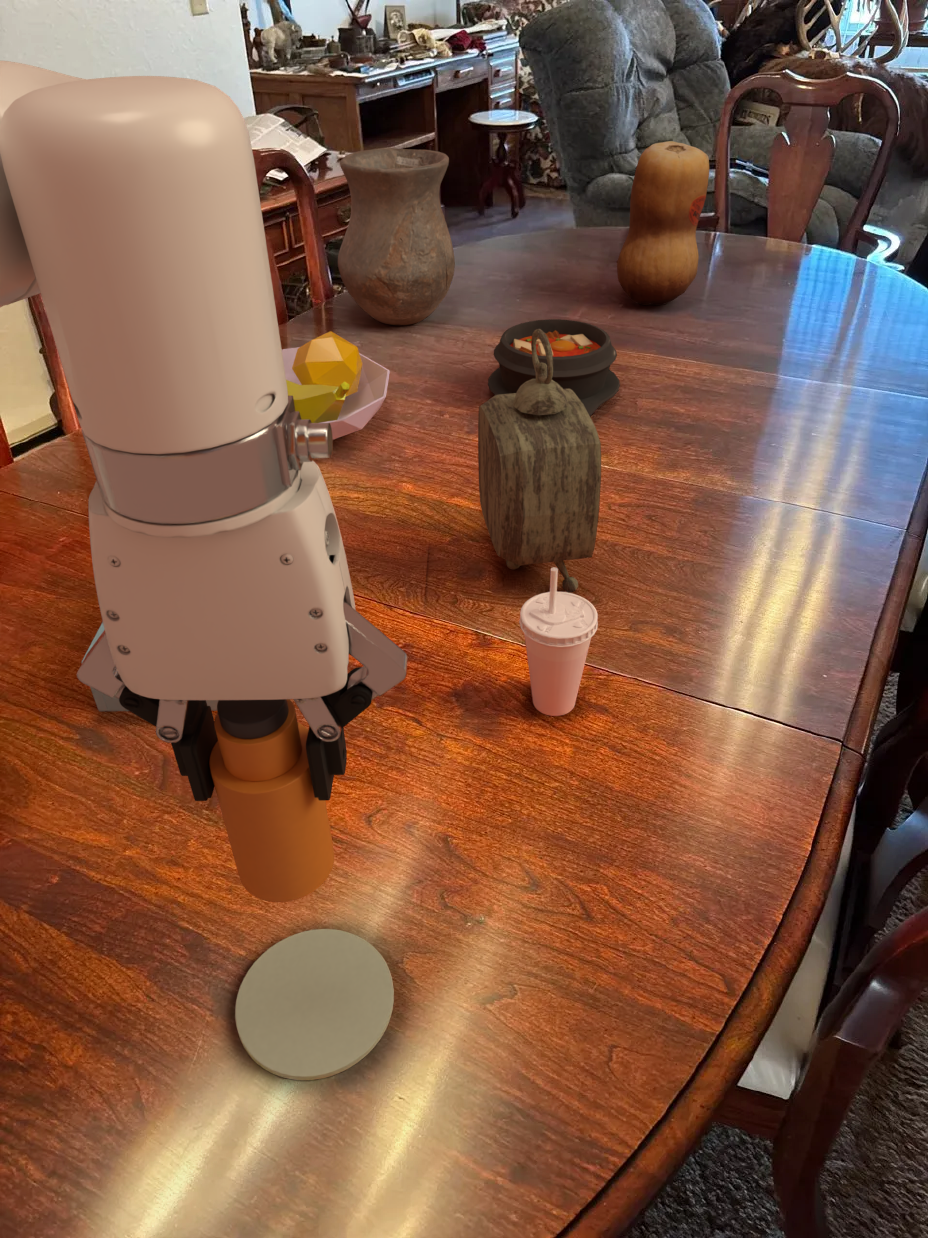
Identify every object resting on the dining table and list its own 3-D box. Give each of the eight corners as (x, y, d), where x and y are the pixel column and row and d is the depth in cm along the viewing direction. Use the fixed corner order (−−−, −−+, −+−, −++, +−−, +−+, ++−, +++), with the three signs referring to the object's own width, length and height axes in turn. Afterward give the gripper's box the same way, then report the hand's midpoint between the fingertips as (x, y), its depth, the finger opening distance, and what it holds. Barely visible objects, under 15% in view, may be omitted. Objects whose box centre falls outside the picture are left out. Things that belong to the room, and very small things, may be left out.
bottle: (229, 903, 48) (182, 740, 41) (248, 825, 52) (209, 664, 45) (328, 903, 48) (298, 739, 41) (339, 824, 52) (314, 663, 45)
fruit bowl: (186, 402, 131) (169, 324, 124) (371, 375, 138) (364, 299, 131) (205, 495, 110) (186, 407, 103) (422, 458, 117) (418, 373, 110)
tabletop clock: (591, 601, 92) (611, 360, 77) (503, 611, 91) (505, 369, 76) (556, 525, 103) (567, 302, 88) (477, 534, 102) (474, 310, 87)
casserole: (616, 438, 120) (622, 376, 115) (475, 430, 123) (475, 370, 117) (620, 363, 140) (625, 308, 135) (499, 358, 142) (499, 303, 137)
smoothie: (516, 676, 83) (519, 546, 75) (588, 677, 83) (599, 547, 74) (517, 726, 78) (521, 593, 70) (593, 727, 78) (606, 593, 69)
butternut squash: (674, 321, 153) (694, 156, 138) (601, 307, 159) (613, 148, 144) (705, 297, 162) (727, 140, 147) (635, 285, 168) (649, 132, 153)
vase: (343, 302, 164) (328, 147, 148) (450, 296, 165) (446, 142, 150) (344, 343, 148) (327, 174, 133) (462, 336, 150) (458, 168, 134)
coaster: (220, 1080, 55) (218, 1076, 55) (253, 932, 63) (251, 928, 62) (387, 1081, 55) (387, 1077, 54) (399, 932, 63) (398, 928, 62)
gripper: (424, 408, 38) (440, 726, 49) (14, 414, 38) (122, 728, 49) (414, 501, 32) (435, 838, 43) (-71, 507, 32) (73, 840, 43)
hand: (267, 777), depth 46 cm, fingers closed on bottle, 5 cm apart
